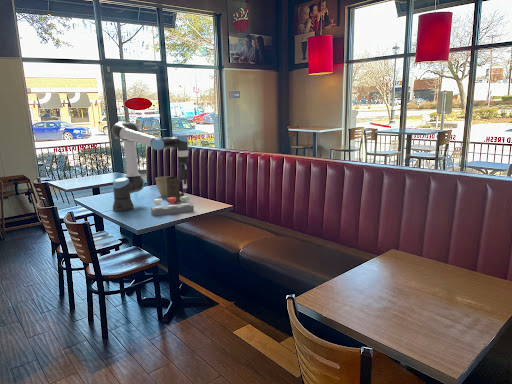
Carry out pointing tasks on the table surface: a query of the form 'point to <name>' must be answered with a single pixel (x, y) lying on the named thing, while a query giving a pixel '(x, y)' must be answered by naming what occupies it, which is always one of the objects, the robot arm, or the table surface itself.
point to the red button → (171, 200)
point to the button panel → (172, 209)
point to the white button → (158, 201)
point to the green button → (185, 198)
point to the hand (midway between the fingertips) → (185, 188)
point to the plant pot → (162, 185)
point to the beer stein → (174, 188)
